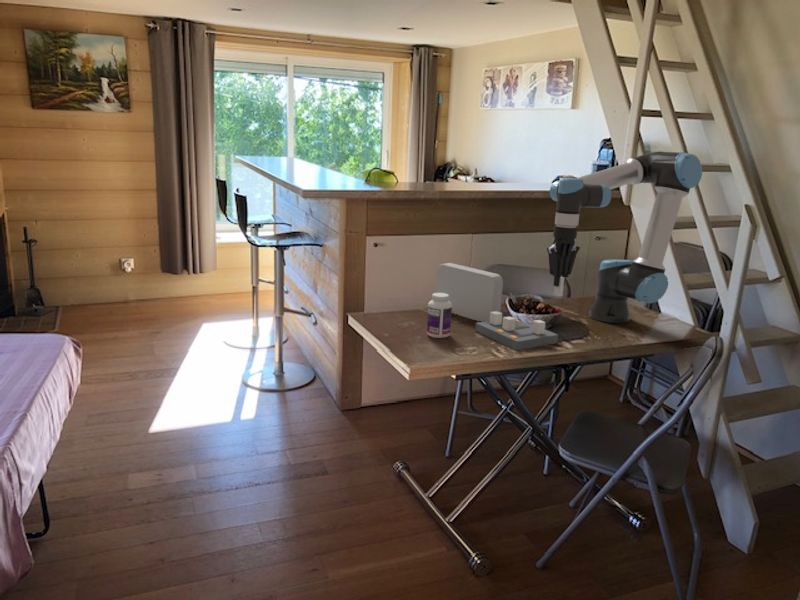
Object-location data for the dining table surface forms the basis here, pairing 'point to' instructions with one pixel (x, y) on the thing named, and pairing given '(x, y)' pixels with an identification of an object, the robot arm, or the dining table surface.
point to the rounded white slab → (470, 290)
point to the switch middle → (508, 323)
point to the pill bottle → (439, 316)
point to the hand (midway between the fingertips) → (557, 295)
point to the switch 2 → (538, 327)
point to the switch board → (516, 335)
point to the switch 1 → (495, 318)
